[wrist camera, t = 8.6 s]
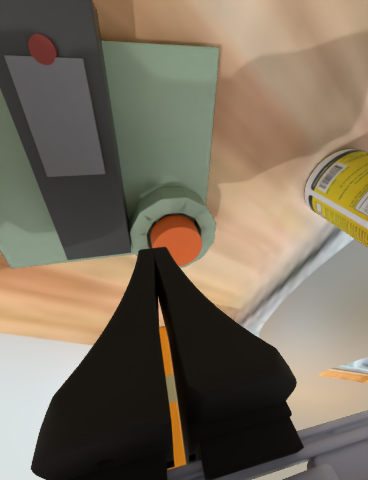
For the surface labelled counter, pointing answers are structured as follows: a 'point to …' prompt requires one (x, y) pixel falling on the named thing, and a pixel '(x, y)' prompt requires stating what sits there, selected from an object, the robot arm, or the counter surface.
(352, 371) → the counter surface
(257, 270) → the counter surface
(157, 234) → the power button
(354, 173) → the pill bottle
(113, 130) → the remote
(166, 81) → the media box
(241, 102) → the counter surface
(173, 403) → the orange juice
